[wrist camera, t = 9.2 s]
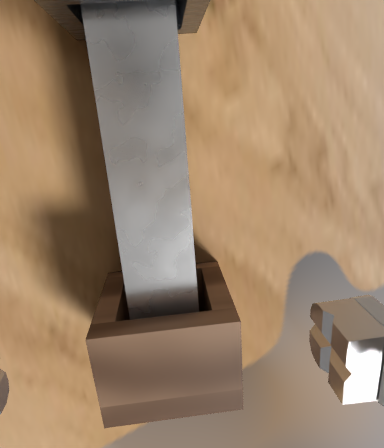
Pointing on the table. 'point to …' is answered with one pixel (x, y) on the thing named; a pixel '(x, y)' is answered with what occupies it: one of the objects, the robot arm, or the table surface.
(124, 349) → the socket
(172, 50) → the rod
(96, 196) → the table surface
